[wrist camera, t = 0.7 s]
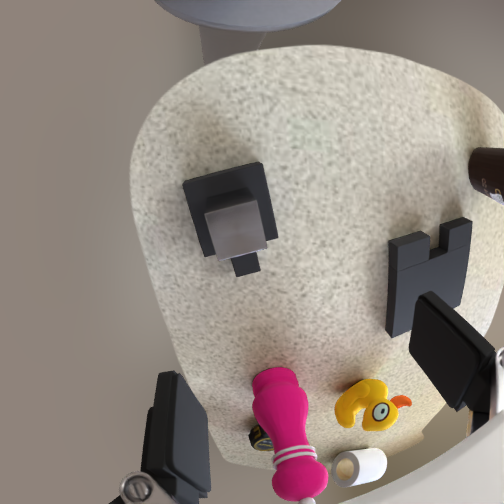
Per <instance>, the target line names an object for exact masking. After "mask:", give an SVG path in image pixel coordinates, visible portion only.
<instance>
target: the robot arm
mask: <svg viewBox="0 0 504 504" xmlns="http://www.w3.org/2000/svg"><path fill="white" fill-rule="evenodd" d="M494 350H495V348H494V347H493V346H492V345H491V344H490V343H489V342H488V341H487V340H486V339H485V338H484V337H483V336H482V335H481V334H480V333H479V332H478V331H476V330H475V329H474V328H473V327H472V326H471V325H470V324H469V323H468V322H467V321H466V320H465V319H464V318H463V317H462V316H460V315H459V314H458V313H457V312H456V311H455V310H454V309H453V308H452V307H450V306H449V305H448V304H447V303H446V302H445V301H444V300H443V299H441V298H440V297H439V296H438V295H437V294H436V293H434V292H433V291H428V292H426V293H424V294H422V295H420V296H419V297H418V300H417V301H416V303H415V310H414V317H413V324H412V331H411V337H410V343H409V352H410V354H411V356H412V357H413V358H414V359H415V361H416V362H417V363H418V365H419V366H420V367H421V369H422V370H423V371H424V372H425V374H426V375H427V376H428V378H429V379H430V381H431V382H432V383H433V385H434V386H435V387H436V389H437V390H438V391H439V393H440V394H441V396H442V397H443V398H444V400H445V401H446V403H447V404H448V405H449V407H451V408H454V409H455V410H456V412H457V411H459V410H460V409H462V408H463V407H465V406H466V405H467V407H468V408H469V418H468V426H467V433H466V439H464V440H463V441H461V442H460V443H459V444H457V445H456V446H455V447H453V448H451V449H450V450H448V451H447V452H445V453H444V454H442V455H441V456H439V457H437V458H436V459H434V460H432V461H431V462H429V463H427V464H426V465H424V466H422V467H420V468H419V469H417V470H415V471H413V472H411V473H409V474H408V475H406V476H404V477H402V478H400V479H398V480H396V481H393V482H391V483H389V484H387V485H385V486H383V487H380V488H378V489H376V490H374V491H371V492H369V493H366V494H364V495H361V496H358V497H356V498H353V499H351V500H348V501H345V502H342V503H339V504H504V347H502V348H500V349H499V350H498V351H497V353H496V352H495V351H494ZM119 491H120V495H119V496H118V497H117V498H116V499H114V500H113V501H112V502H110V503H109V504H199V498H207V492H210V491H211V479H210V463H209V443H208V418H207V414H206V411H205V410H204V408H203V407H202V405H201V404H200V403H199V401H198V400H197V398H196V397H195V395H194V394H193V392H192V391H191V389H190V387H189V386H188V384H187V383H186V381H185V380H184V378H183V376H182V375H181V374H180V373H179V374H177V373H176V372H175V371H168V372H162V373H159V375H158V379H157V386H156V393H155V399H154V406H153V407H151V408H150V409H149V410H148V414H147V422H146V429H145V436H144V444H143V453H142V462H141V472H139V471H137V472H131V473H130V474H127V475H126V476H125V477H124V478H123V479H122V481H121V483H120V487H119Z"/></svg>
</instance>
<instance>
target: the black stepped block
mask: <svg viewBox="0 0 504 504" xmlns="http://www.w3.org/2000/svg"><path fill="white" fill-rule="evenodd" d="M182 185H183V189H184V192H185V196H186V199H187V203H188V206H189V209H190V213H191V216H192V219H193V222H194V226H195V229H196V232H197V235H198V238H199V242H200V245H201V248H202V251H203V254H204V257H208V256H211V255H215V254H216V255H217V259H218V261H222V260H225V259H229V258H231V261H232V264H233V267H234V271H235V274H236V277H239V276H243V275H247V274H251V273H255V272H258V271H261V270H260V266H259V261H258V257H257V253H256V251H260V250H264V249H267V243H266V241H269V240H272V239H276V238H278V233H277V228H276V223H275V218H274V213H273V209H272V204H271V199H270V195H269V190H268V186H267V181H266V177H265V172H264V168H263V164H262V163H260V162H255V163H250V164H246V165H242V166H238V167H234V168H230V169H226V170H222V171H218V172H215V173H211V174H207V175H204V176H200V177H196V178H193V179H189V180H186V181H185V182H184V183H183V184H182Z"/></svg>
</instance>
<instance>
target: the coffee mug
mask: <svg viewBox="0 0 504 504" xmlns="http://www.w3.org/2000/svg"><path fill="white" fill-rule="evenodd" d="M469 179H470V182H471V185H472V186H473V188H474V189H475V190H477V191H479V192H481V193H483V194H484V195H486V196H488V197H490V198H492V199H493V200H495V201H497V202H499V203H500V204H502V205H504V148H484V147H478V148H476V149H475V150H474V151H473V153H472V155H471V157H470V161H469Z"/></svg>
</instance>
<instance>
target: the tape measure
mask: <svg viewBox="0 0 504 504" xmlns="http://www.w3.org/2000/svg"><path fill="white" fill-rule="evenodd" d="M249 440H250V443H251V446H252V447H253V448H254V449H256V450H259V451H273V450H274V447H273V443H272V441H271V439H270V437H269V436H268V434H267V433H266V432H265V430H264V429H263V428H262V427H261V426H260V424H259V425H257V426H255V427H254V428H252V430H251V431H250V434H249Z"/></svg>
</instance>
